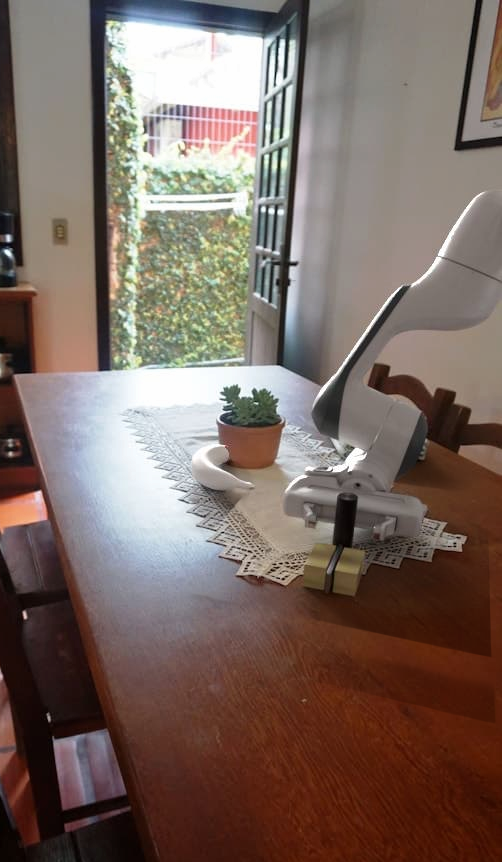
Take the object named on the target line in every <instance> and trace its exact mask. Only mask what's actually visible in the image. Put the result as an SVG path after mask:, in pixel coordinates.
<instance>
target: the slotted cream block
mask: <svg viewBox="0 0 502 862" xmlns="http://www.w3.org/2000/svg"><path fill="white" fill-rule="evenodd" d="M335 553H336V546H335V545H332V544H328V543H323V542H316V541H315V542H314V544H313V546H312V549H311V551H310V553H309V555H308V557H307V559H306V561H305V562H304V564H303V574H302V575H303V576H302V587H306V588H311V589H317V590H320V591H325V584H326V574H327V571H328V569H329V567H330V564H331V562H332V560H333V557H334V555H335ZM365 558H366V550H362V549H357V548H352V549H351V548H346V547H344V549H343V552H342V554H341V557H340V559H339V562H338V564H337V566H336V569H335V573H334V581H333V584H332V590H331V591H332V593H336V594H341V595H345V596H350V597H355V596H356V593H357V590H358V587H359V584H360V581H361V578H362V577H363V572H364V565H365Z"/></svg>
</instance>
